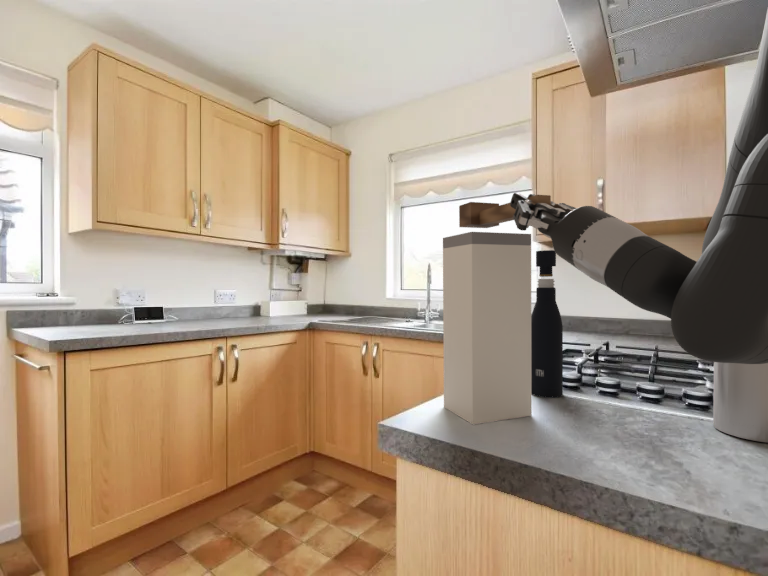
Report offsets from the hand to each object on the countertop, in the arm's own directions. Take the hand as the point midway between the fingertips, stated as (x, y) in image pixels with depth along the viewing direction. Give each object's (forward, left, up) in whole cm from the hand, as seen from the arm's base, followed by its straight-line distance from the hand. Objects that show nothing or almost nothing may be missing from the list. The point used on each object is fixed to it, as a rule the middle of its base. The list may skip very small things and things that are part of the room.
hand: (521, 199), depth 64 cm
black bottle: (-23, -7, -37) cm, 44 cm away
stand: (-4, -9, -37) cm, 38 cm away
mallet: (-2, -4, -3) cm, 5 cm away
